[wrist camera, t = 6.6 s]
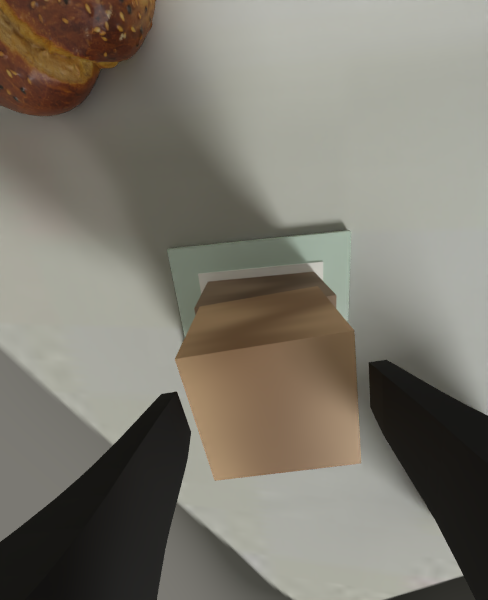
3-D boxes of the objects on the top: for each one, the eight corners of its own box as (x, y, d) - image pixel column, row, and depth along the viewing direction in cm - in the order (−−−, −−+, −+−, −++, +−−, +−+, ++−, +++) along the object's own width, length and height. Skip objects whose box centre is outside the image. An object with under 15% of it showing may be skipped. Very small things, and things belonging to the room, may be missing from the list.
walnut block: (314, 271, 15) (336, 295, 11) (315, 362, 17) (334, 409, 13) (207, 281, 15) (194, 308, 11) (221, 370, 17) (214, 417, 13)
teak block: (317, 286, 11) (354, 330, 7) (327, 384, 12) (361, 463, 9) (199, 306, 11) (174, 358, 7) (224, 399, 13) (214, 480, 9)
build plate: (348, 230, 14) (352, 231, 14) (343, 380, 18) (346, 386, 17) (169, 248, 15) (166, 250, 14) (198, 391, 18) (196, 397, 18)
